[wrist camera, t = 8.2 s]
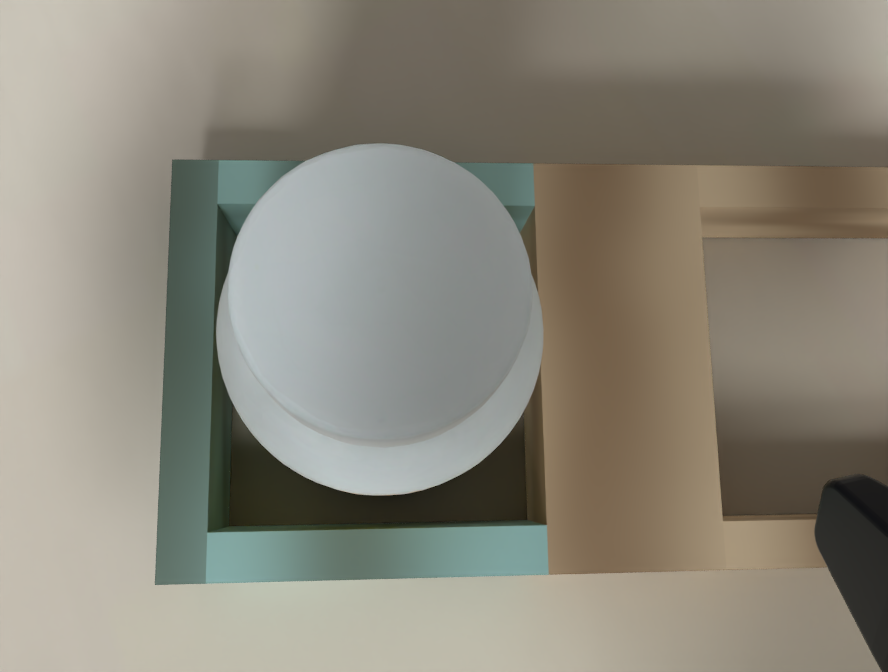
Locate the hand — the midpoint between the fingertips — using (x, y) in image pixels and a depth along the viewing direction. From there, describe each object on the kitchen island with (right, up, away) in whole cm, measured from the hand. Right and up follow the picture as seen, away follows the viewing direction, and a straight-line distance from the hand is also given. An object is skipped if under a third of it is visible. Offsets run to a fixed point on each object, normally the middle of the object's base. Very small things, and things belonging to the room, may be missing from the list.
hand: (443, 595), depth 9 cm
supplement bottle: (-2, +2, +11) cm, 11 cm away
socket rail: (+4, +2, +11) cm, 12 cm away
